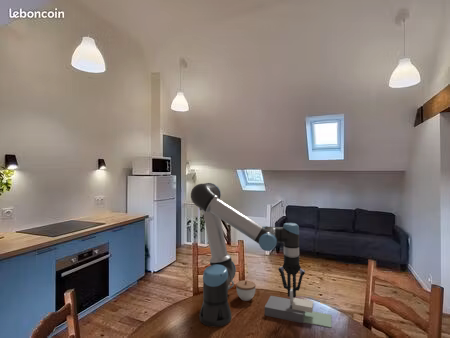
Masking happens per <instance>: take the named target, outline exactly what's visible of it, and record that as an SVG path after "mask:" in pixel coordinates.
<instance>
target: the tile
mask: <svg viewBox="0 0 450 338" xmlns="http://www.w3.org/2000/svg"><path fill="white" fill-rule="evenodd" d="M292 309H294V310H299V311H304V312H310V313H312V311H313V312H314V301H313V300H310V299H308V300H307V299H305V298H303V299H302V298H300V297H299V298H298V297H295V298H294V301H293V304H292Z"/></svg>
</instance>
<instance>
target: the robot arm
mask: <svg viewBox="0 0 450 338" xmlns="http://www.w3.org/2000/svg"><path fill="white" fill-rule="evenodd" d="M221 196H222V194H221V190H220V188H219V186H217V185H216V184H214V183H211V182H206V183H198V184H196V185H194V186H193V188H192V189H191V192H190V199H191V201H192V203H193V204H194V205H195V206H196V207H198V208H199V211H200V212H201V213H202V214H203V218H204V224H205V230H206V234H207V235H206V236H207V240H208V245H209V249H210V250H209V251H210V254H211V258H210V259H209V265H208V266H207V267H206V268H204V270H203V274H202V280H203V281H202V290H203V291H202V293H203V294H202V298H203V300H202V305H201V308H200V311H199V321H200V323H201V324H202V323H203V324H202V325H204V326H207V327H212V328H217V327H218V328H219V327H223V326H226V325H228V324H229V323H230V322H231V321H232V311H231V308H230V305H229V300H228V291H229V290H228V286H229V284H230V285H231V284H232V282H231V281H232V280H233V281H234V279H235V276H236V272H237V268H236V265H235V263H234V261H233V260H232V256H231V255H230V254H229V253H228V249H227V245H226V244H227V243H226V238H225V235H224V230H223V229H224V228H223V223H222V221H223V222H225V223H226V224H228V225H229V226H231V227H232V228H234V229H236V231H239V232H240V233H242V234H243V235H245V236H246V237H248V238H249V239H251V240H252V241H254V242H256V243H257V244H258V245H259V247H260V248H261V249H262V250H263V251H266V252H270V251H272V250H274V249H275V247H277V243H279V244H280V243H283V265H282V266H279V268H278V269H277V270H278V272H279V274H280V278H281V282H282V286H283V289H286V291H287V297H289V299H290V305H292V304H293V301H294V298H297V297H296V296H297V291H300V288H301V284H302V281H303V277H304V275H305V273H306V270H305V269H302V267H301V265H300V226H299V225H298V224H297V223H295V222H285V223H283V226H267V225H265V226H264V225H260V223H257V222H256V221H254V220H253V219H251V218H249V217H248V216H246V215H245V214H243V213H241V211H239V210H236V209H235V208H233V207H232V206H230V205H229V204H227V203H226V202H224V201H223V200H221ZM285 272H286V276H287V279H286V276H285ZM298 273H299V274H300V275H299V278H298V283H297V274H298ZM291 277H292V280H291ZM291 281H292V282H291ZM291 283H292V284H291ZM291 286H292V287H291Z"/></svg>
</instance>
